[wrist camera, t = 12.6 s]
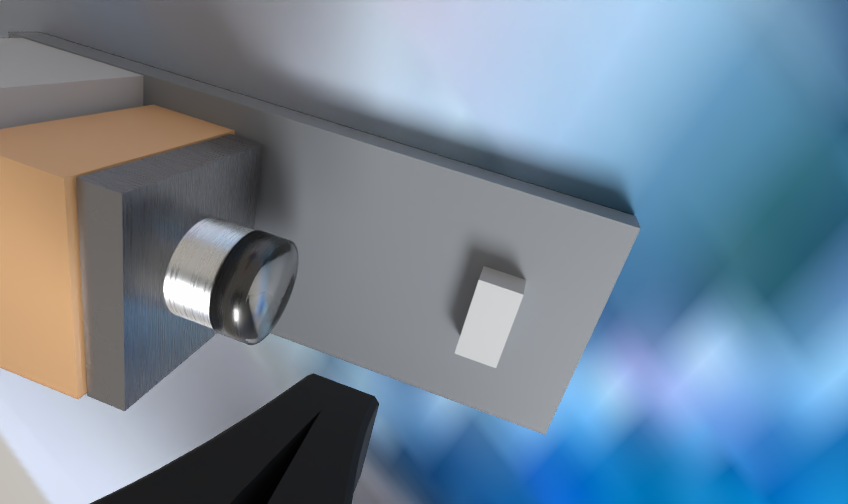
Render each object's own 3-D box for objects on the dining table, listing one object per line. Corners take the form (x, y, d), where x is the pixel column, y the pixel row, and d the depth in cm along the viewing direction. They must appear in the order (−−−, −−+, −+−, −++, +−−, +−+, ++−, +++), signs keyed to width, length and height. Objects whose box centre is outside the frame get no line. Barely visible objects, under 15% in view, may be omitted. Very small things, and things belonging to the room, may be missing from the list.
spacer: (150, 267, 17) (-17, 360, 12) (153, 104, 15) (-53, 137, 10) (221, 293, 17) (77, 399, 12) (235, 130, 14) (63, 178, 10)
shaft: (330, 166, 14) (218, 226, 9) (303, 329, 16) (202, 442, 12) (-56, 42, 15) (-311, 43, 11) (-31, 207, 18) (-234, 265, 13)
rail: (635, 216, 14) (675, 316, 9) (546, 413, 17) (538, 572, 12) (39, 32, 16) (-196, 29, 11) (55, 233, 19) (-125, 303, 14)
